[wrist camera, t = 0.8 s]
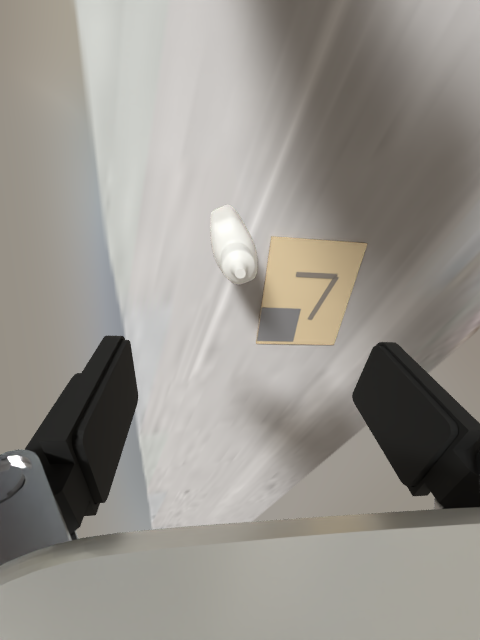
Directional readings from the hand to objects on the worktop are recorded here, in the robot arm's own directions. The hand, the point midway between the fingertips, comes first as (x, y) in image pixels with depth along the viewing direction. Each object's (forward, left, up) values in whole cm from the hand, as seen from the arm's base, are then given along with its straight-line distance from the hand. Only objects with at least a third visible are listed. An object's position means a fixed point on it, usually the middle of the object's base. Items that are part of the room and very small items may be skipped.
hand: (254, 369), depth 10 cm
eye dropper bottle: (-1, 0, -21) cm, 21 cm away
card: (+6, +10, -21) cm, 24 cm away
